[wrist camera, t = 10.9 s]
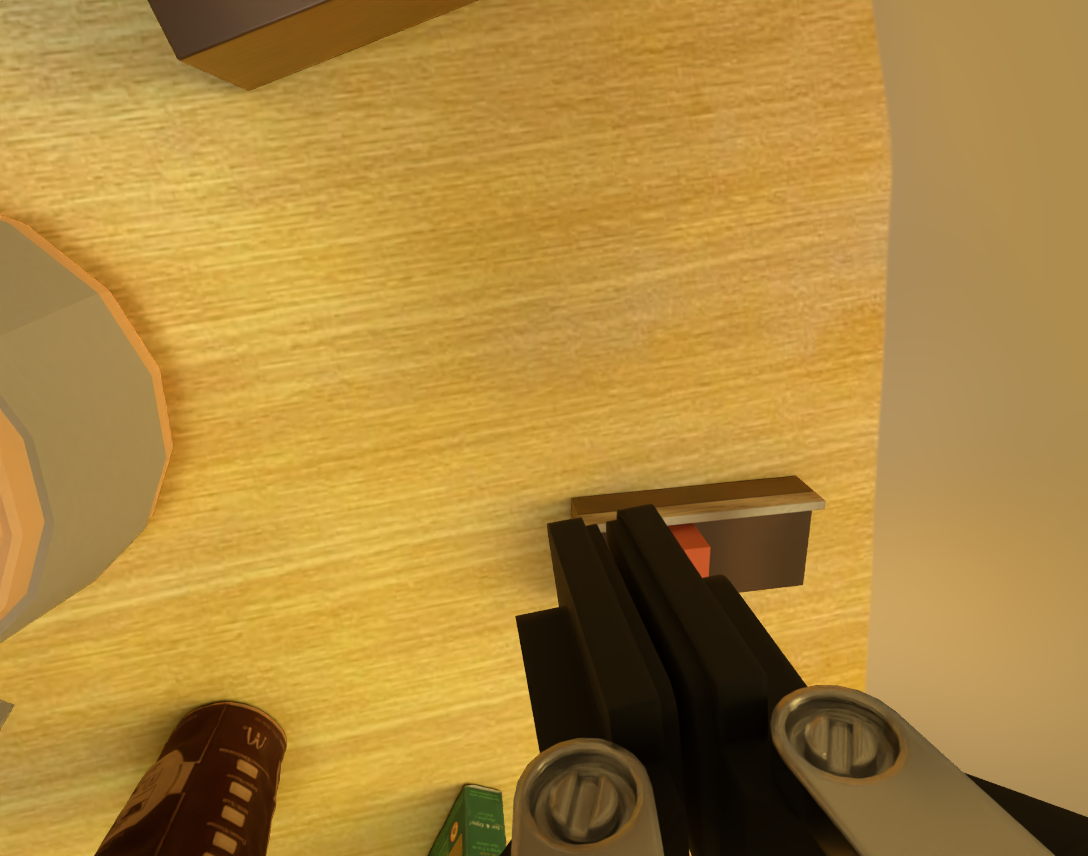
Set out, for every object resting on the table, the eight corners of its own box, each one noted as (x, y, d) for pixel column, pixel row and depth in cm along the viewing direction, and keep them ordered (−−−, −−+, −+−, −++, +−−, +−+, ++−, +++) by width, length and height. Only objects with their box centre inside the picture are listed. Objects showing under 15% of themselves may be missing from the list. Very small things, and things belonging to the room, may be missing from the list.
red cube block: (616, 596, 37) (630, 631, 34) (616, 525, 35) (631, 555, 32) (686, 588, 37) (706, 621, 34) (689, 517, 36) (710, 546, 33)
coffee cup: (134, 785, 39) (-3, 1056, 27) (159, 672, 37) (21, 915, 25) (287, 806, 41) (223, 1066, 29) (320, 700, 39) (265, 935, 27)
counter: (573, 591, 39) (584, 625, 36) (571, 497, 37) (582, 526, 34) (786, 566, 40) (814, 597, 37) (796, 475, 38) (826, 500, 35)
